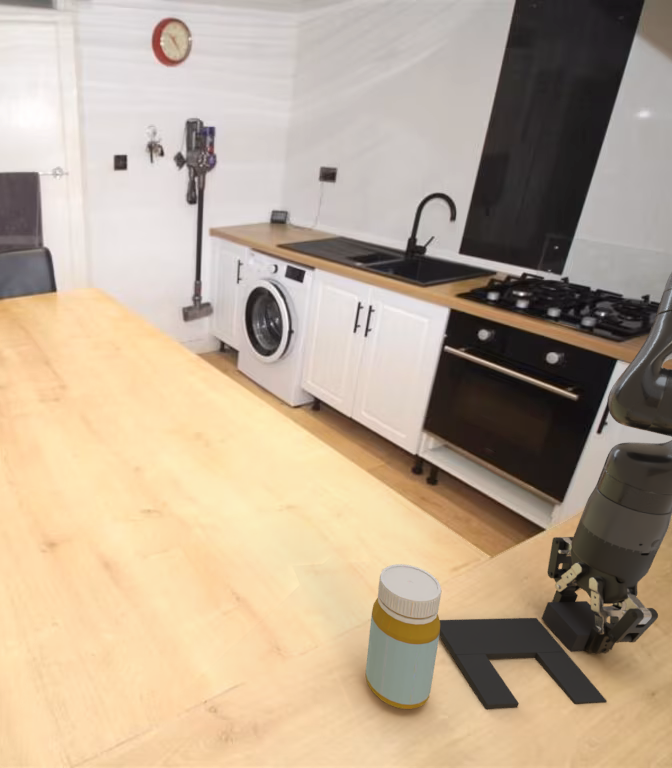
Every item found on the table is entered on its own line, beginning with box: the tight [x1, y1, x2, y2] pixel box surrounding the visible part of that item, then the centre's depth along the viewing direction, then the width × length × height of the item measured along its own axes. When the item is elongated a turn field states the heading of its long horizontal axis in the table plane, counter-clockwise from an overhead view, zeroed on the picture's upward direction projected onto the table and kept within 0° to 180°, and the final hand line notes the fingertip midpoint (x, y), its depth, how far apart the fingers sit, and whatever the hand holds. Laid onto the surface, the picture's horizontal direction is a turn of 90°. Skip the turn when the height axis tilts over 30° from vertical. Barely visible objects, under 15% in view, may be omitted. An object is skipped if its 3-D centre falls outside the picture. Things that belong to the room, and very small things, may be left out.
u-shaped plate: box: [439, 617, 608, 710], centre depth 67 cm, size 14×12×1 cm
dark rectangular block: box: [541, 600, 616, 653], centre depth 71 cm, size 5×5×3 cm
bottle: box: [365, 563, 442, 710], centre depth 62 cm, size 7×7×15 cm
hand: (576, 631), depth 71 cm, fingers closed on dark rectangular block, 5 cm apart
